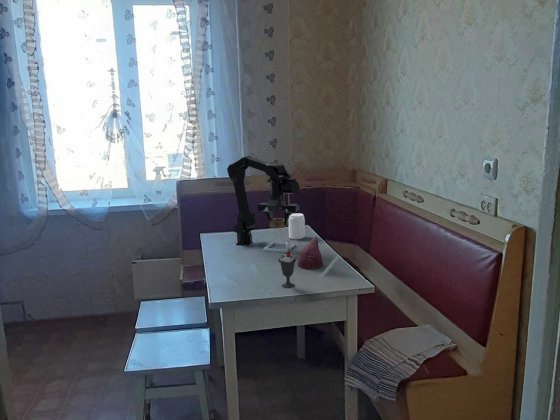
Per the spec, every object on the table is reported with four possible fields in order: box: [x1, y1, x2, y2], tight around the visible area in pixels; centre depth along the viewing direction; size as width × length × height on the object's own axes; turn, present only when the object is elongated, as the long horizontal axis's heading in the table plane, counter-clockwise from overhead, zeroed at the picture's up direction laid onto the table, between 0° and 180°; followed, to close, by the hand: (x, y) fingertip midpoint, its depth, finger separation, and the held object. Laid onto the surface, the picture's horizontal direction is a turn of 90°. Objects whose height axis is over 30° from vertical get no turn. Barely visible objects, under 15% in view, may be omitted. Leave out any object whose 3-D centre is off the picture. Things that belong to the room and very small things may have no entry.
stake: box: [280, 240, 297, 259], centre depth 217 cm, size 7×7×8 cm
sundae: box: [278, 248, 297, 289], centre depth 183 cm, size 7×7×15 cm
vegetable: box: [297, 235, 324, 271], centre depth 203 cm, size 10×10×15 cm
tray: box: [263, 241, 296, 253], centre depth 230 cm, size 11×11×2 cm
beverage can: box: [288, 212, 306, 240], centre depth 250 cm, size 8×8×12 cm
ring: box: [269, 217, 289, 229], centre depth 227 cm, size 7×6×3 cm
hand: (278, 225), depth 228 cm, fingers closed on ring, 6 cm apart
